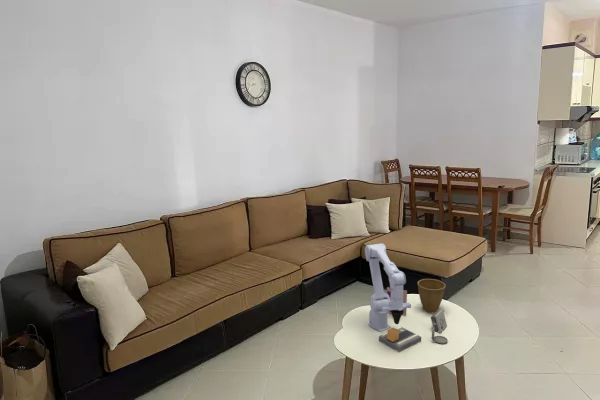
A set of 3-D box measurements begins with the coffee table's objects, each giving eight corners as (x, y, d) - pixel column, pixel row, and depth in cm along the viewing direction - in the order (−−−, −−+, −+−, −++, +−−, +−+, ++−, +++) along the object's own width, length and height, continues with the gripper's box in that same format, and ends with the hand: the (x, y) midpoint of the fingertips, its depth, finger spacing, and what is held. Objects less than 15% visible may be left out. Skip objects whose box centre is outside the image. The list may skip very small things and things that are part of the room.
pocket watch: (450, 343, 209) (451, 324, 207) (435, 346, 207) (436, 326, 205) (440, 335, 217) (441, 316, 215) (425, 337, 215) (426, 319, 213)
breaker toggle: (387, 338, 209) (387, 329, 208) (393, 336, 211) (393, 327, 210) (392, 341, 206) (393, 332, 205) (398, 339, 209) (398, 330, 208)
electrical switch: (440, 334, 218) (439, 316, 217) (430, 331, 221) (429, 314, 220) (447, 326, 225) (446, 309, 224) (437, 324, 229) (436, 308, 227)
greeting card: (385, 312, 243) (385, 287, 240) (395, 309, 246) (396, 284, 243) (397, 320, 233) (398, 294, 230) (408, 317, 236) (409, 292, 233)
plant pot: (411, 310, 244) (412, 284, 241) (425, 302, 254) (426, 276, 251) (435, 319, 234) (436, 291, 231) (449, 310, 244) (450, 283, 240)
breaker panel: (378, 340, 213) (378, 334, 212) (400, 330, 222) (400, 324, 221) (399, 352, 203) (399, 345, 202) (421, 341, 212) (421, 334, 211)
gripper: (387, 302, 200) (386, 329, 203) (414, 298, 204) (414, 324, 207) (380, 296, 207) (379, 322, 209) (407, 292, 211) (406, 318, 213)
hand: (396, 323), depth 209 cm, fingers closed
